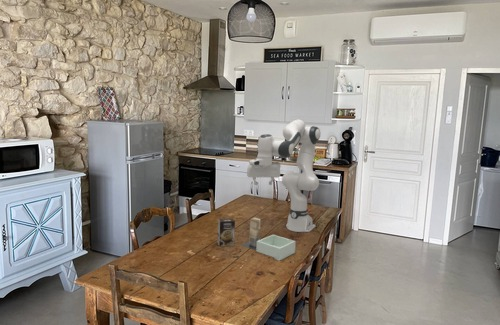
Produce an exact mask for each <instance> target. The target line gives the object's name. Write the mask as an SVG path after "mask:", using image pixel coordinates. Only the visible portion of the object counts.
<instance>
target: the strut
mask: <svg viewBox="0 0 500 325" xmlns="http://www.w3.org/2000/svg"><path fill="white" fill-rule="evenodd" d="M248 237H249V240H248V242H249V245H251V246H254V247H256V246H257V241H258V240H261V239H260V238H261V218H258V217H252V218H249V236H248Z"/></svg>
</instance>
